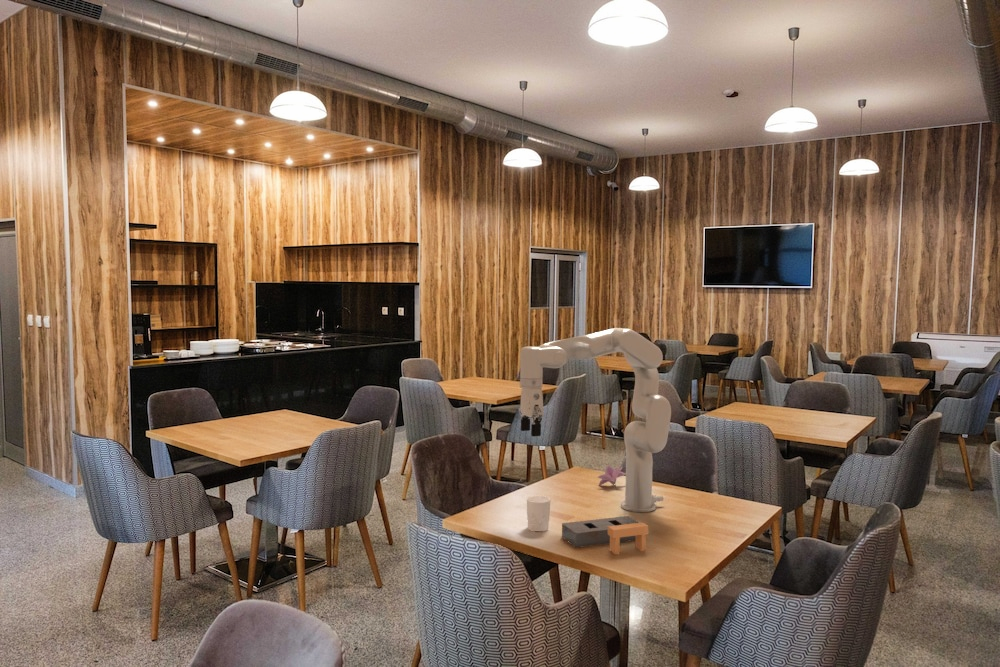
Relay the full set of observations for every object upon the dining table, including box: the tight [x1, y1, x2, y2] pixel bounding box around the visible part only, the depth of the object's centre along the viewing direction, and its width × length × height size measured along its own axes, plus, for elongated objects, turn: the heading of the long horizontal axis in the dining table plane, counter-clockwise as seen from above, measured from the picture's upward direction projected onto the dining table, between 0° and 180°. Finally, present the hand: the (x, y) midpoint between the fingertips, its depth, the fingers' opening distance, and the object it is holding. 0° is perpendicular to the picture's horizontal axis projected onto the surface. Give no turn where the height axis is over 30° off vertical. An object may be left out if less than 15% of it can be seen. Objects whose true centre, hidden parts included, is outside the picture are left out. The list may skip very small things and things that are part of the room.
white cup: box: [526, 495, 552, 532], centre depth 233 cm, size 8×8×10 cm
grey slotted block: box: [561, 515, 640, 548], centre depth 225 cm, size 24×10×4 cm, turn 110°
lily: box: [597, 464, 626, 491], centre depth 284 cm, size 12×12×10 cm
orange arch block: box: [608, 522, 649, 555], centre depth 214 cm, size 12×4×8 cm, turn 110°
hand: (530, 433), depth 239 cm, fingers open, 9 cm apart
